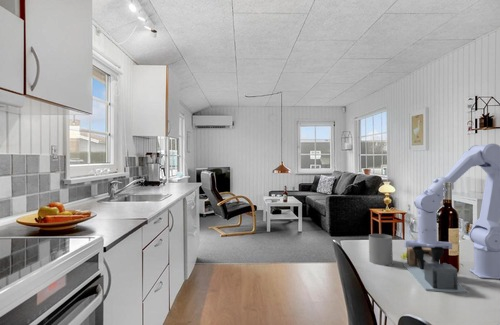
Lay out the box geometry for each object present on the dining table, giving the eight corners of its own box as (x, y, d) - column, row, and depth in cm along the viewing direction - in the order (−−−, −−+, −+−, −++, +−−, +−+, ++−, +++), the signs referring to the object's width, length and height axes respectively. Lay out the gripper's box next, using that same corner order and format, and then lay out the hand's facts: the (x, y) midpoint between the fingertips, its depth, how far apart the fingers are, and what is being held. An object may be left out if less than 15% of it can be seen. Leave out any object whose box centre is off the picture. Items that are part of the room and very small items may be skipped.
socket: (431, 264, 117) (430, 247, 117) (434, 267, 114) (434, 250, 114) (407, 263, 119) (406, 246, 119) (409, 266, 115) (409, 249, 115)
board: (435, 266, 117) (435, 264, 117) (467, 293, 92) (467, 290, 92) (403, 264, 119) (403, 263, 119) (425, 290, 95) (425, 288, 95)
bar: (427, 266, 115) (426, 253, 115) (445, 283, 98) (445, 267, 98) (416, 265, 115) (416, 252, 115) (433, 282, 99) (432, 267, 99)
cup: (394, 265, 118) (394, 239, 118) (371, 264, 120) (371, 238, 120) (389, 259, 126) (389, 234, 126) (367, 258, 128) (367, 233, 128)
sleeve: (446, 280, 101) (446, 261, 101) (457, 289, 93) (457, 269, 93) (424, 278, 102) (424, 260, 103) (433, 288, 95) (433, 268, 95)
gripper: (407, 231, 106) (408, 271, 106) (455, 232, 103) (456, 273, 103) (402, 227, 113) (402, 265, 113) (446, 227, 110) (447, 267, 110)
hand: (428, 268), depth 109 cm, fingers closed on bar, 3 cm apart
